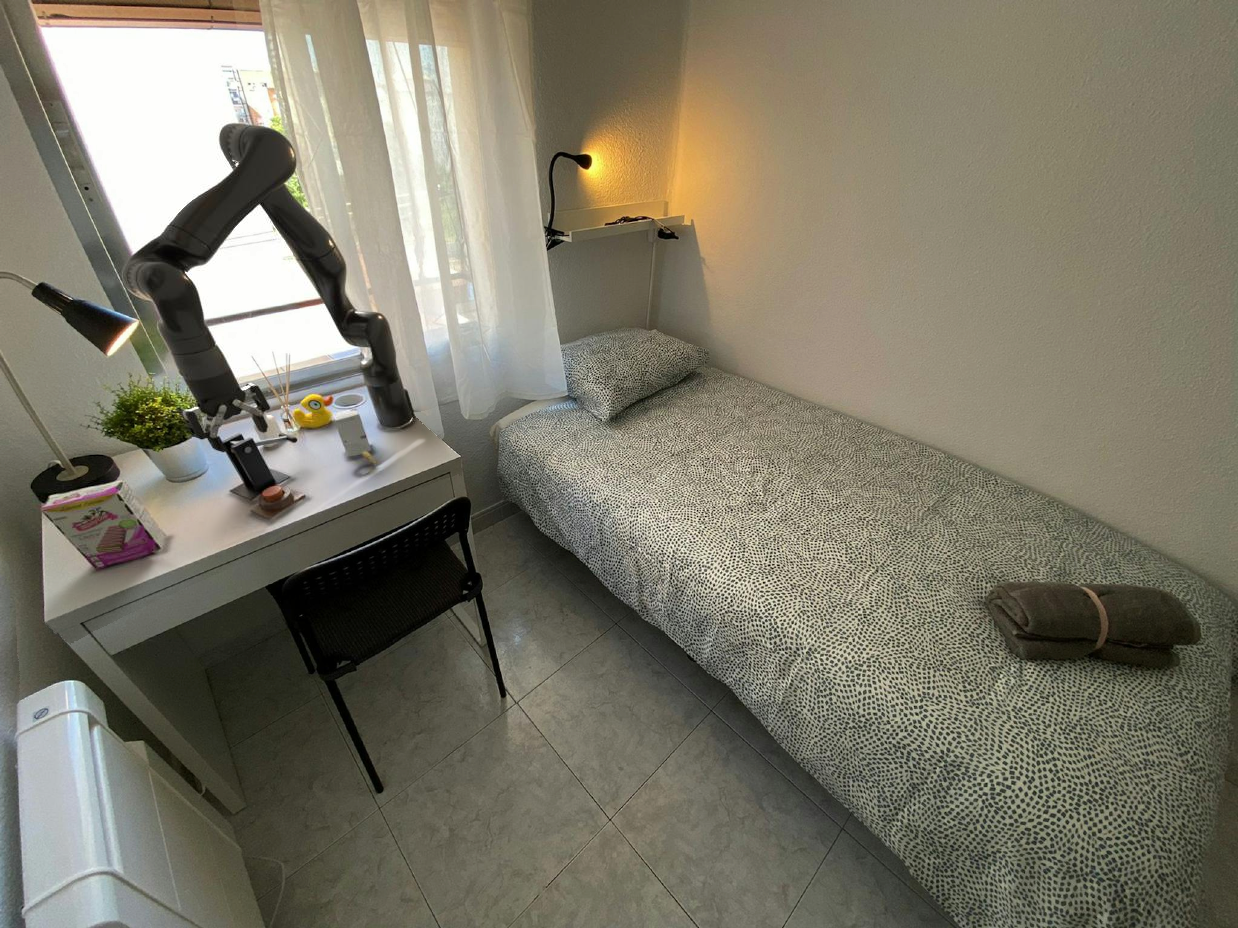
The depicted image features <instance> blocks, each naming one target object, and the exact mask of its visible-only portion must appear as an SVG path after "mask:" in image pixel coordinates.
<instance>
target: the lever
mask: <svg viewBox="0 0 1238 928" xmlns="http://www.w3.org/2000/svg"><path fill="white" fill-rule="evenodd" d="M241 441H243V440H238V441H233V442H230V447H231V446H233V445H235V444H237V443H239V442H241ZM254 442H255V444H256V446H257V447H262V446H263V445H267V444H272V443H276V444H278V443H282V442H289V443H293V444H296V443H297V442H298V438H297V437H295V436H292V435H289V434H286V433H284V432H282V433H280V434H279V437H276V438H270V439H264V440H260V439H259V440H254ZM277 442H278V443H277ZM231 452H233V453H234V451H233V450H232V448H231Z"/></svg>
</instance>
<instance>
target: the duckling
mask: <svg viewBox="0 0 1238 928" xmlns="http://www.w3.org/2000/svg"><path fill="white" fill-rule="evenodd" d="M333 403H334V396H332V395H329V397H327V398H324V396H322V395H320V394H317V393H312V394H309V395H307V396H306V397H305V398H304V399H302V400H301V401H300V406H301V407H302V408H304V409H305V410H306V411H308V412H310V413H305V412H304V411H303V410H302V409H301V408H295V409H294V410H293V413H292V417H293V420H294V421H295V423H296V424H297V425H298V426H300V427H302V428H306V429H308V428H309V429H310V428H313V429H316V428H320V427H323V426H327V425H328V424H329V423H330V422H331V420H332V418H333V416H332V414H333V413H332V412H331V411H330V410H329V409H328V408H326V407H330V406H332V405H333Z"/></svg>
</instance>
